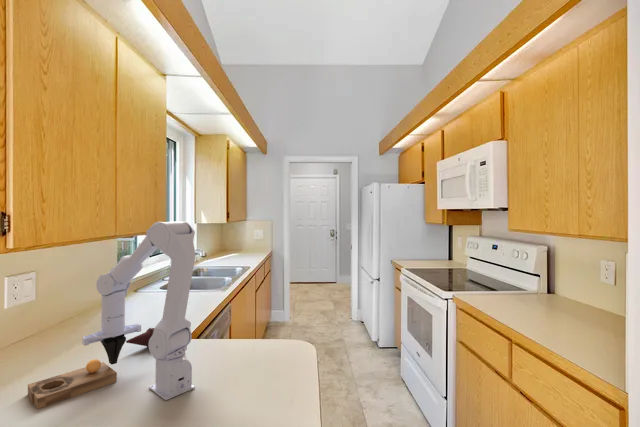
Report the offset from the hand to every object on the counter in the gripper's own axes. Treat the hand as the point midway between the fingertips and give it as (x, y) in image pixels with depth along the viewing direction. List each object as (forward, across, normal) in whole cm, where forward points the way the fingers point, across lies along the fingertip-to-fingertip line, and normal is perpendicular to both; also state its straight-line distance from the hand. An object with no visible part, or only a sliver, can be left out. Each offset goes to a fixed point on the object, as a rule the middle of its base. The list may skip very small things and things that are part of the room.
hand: (113, 362), depth 97 cm
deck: (+3, +9, 0) cm, 10 cm away
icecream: (+4, -16, -11) cm, 20 cm away
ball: (-1, +5, 0) cm, 5 cm away
